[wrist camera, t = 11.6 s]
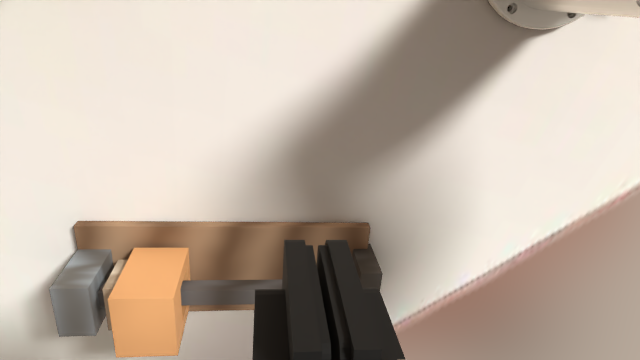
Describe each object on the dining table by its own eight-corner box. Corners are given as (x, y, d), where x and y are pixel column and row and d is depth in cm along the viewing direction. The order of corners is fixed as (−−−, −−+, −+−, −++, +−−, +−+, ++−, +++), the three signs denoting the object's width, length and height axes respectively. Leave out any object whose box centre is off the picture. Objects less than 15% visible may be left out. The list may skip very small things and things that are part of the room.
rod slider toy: (372, 222, 45) (390, 261, 39) (362, 301, 49) (376, 348, 43) (77, 221, 41) (43, 263, 35) (92, 306, 45) (63, 358, 39)
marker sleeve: (188, 247, 42) (173, 298, 35) (191, 298, 44) (177, 355, 38) (134, 247, 42) (107, 299, 35) (139, 299, 44) (116, 357, 37)
